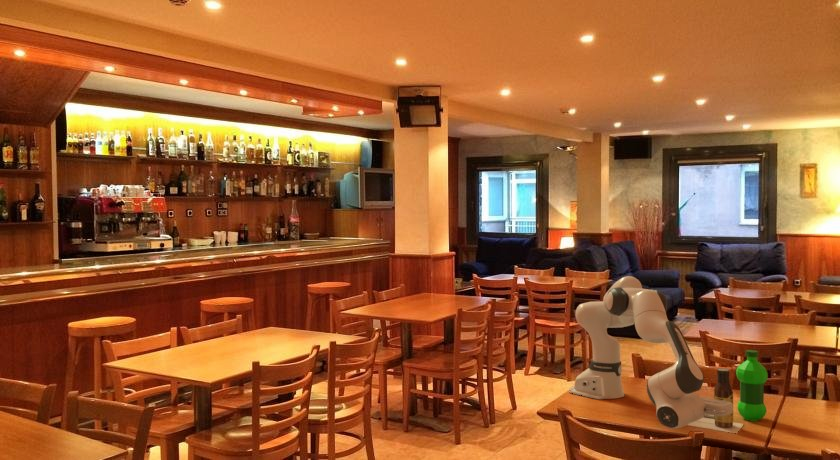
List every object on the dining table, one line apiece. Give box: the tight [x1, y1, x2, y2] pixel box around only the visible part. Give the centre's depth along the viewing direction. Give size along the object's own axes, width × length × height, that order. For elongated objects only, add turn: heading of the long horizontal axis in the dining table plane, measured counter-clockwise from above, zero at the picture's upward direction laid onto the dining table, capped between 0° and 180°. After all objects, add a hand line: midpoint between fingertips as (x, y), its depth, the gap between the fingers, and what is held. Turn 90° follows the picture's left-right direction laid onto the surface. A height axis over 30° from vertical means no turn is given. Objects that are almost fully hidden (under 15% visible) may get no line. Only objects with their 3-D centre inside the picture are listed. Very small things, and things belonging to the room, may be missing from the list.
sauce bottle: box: [713, 368, 734, 428], centre depth 245 cm, size 7×6×20 cm
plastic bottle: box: [735, 349, 769, 422], centre depth 253 cm, size 10×10×25 cm
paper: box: [685, 417, 745, 435], centre depth 248 cm, size 20×12×1 cm, turn 54°
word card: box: [703, 414, 714, 419], centre depth 256 cm, size 8×5×1 cm, turn 54°
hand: (710, 399), depth 236 cm, fingers open, 8 cm apart
